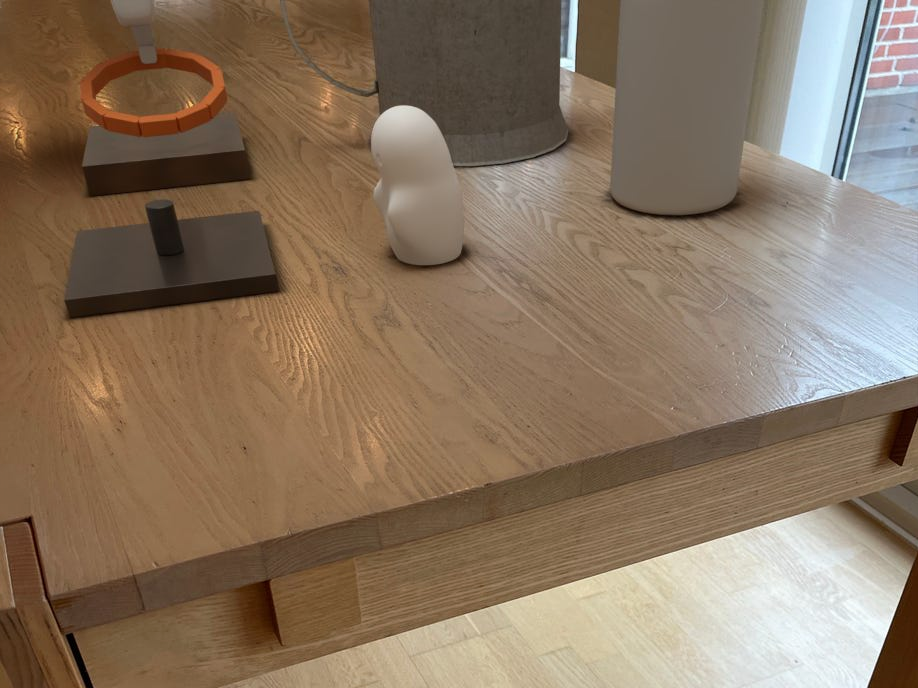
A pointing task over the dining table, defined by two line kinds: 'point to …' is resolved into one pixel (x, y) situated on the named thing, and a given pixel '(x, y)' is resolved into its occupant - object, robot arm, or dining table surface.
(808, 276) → the dining table surface
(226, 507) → the dining table surface
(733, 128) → the cylinder vase
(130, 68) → the ring
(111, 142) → the stand
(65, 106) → the dining table surface
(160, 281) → the peg stand
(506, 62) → the pitcher
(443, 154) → the figurine
